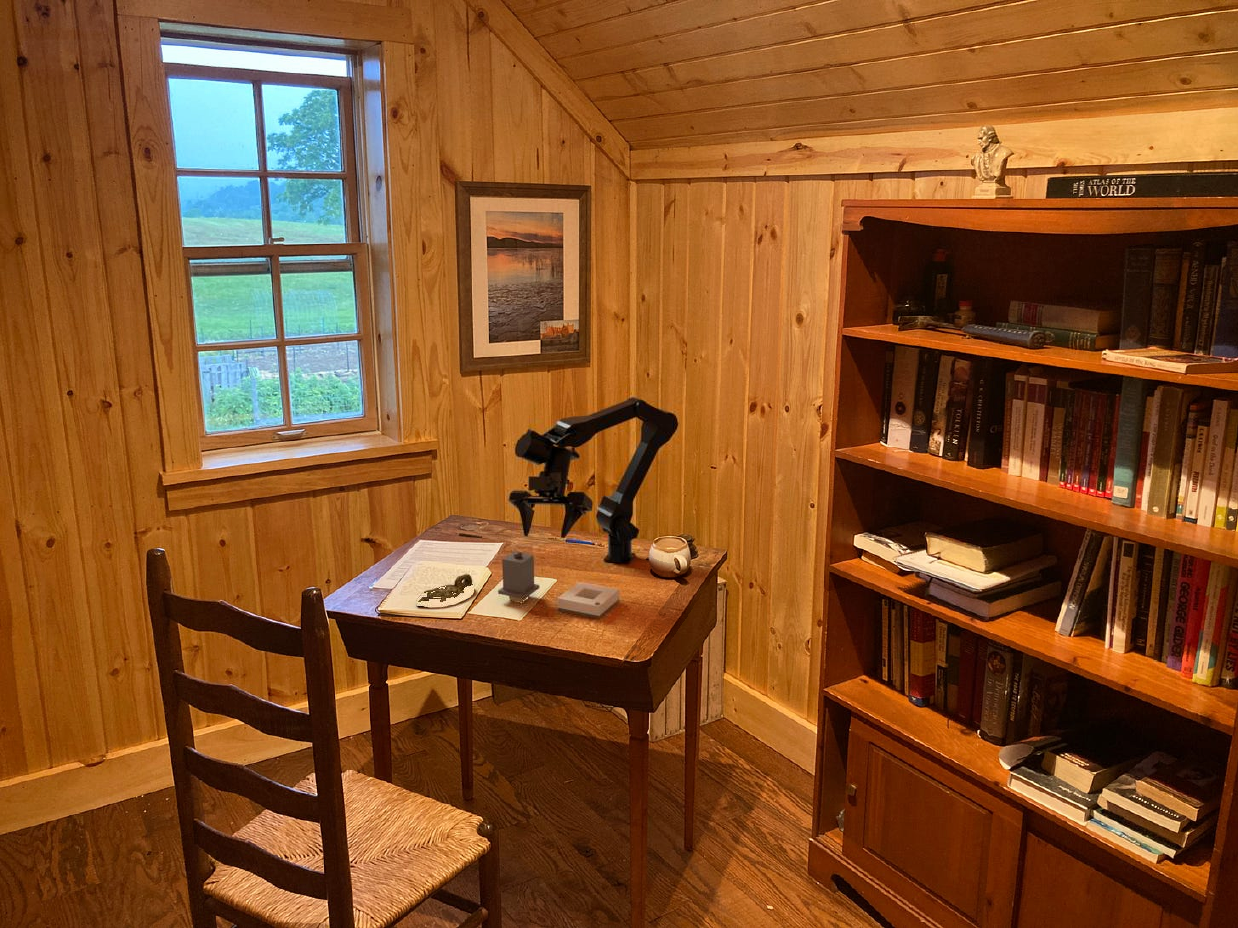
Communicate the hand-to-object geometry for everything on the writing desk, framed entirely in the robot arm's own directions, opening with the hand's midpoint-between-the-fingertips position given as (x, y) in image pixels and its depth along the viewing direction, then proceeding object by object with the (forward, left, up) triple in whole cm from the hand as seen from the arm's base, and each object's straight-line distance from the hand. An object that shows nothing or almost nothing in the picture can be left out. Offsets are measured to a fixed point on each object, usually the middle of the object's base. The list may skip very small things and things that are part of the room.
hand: (544, 536), depth 220 cm
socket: (+5, +12, -13) cm, 19 cm away
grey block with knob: (+6, -4, -13) cm, 15 cm away
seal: (+10, -20, -13) cm, 26 cm away
